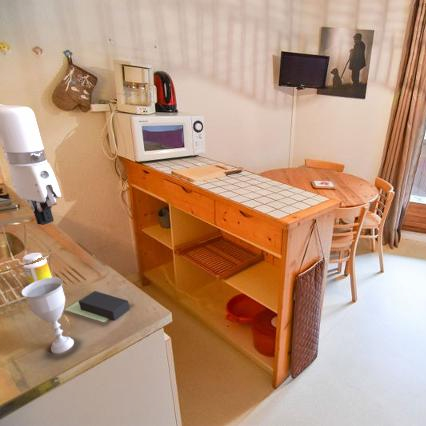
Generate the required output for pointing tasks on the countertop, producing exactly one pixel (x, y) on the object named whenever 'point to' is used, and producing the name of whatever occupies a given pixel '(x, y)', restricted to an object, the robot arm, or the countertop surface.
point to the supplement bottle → (36, 268)
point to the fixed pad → (112, 307)
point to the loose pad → (92, 301)
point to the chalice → (49, 307)
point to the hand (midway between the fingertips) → (45, 222)
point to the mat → (85, 312)
